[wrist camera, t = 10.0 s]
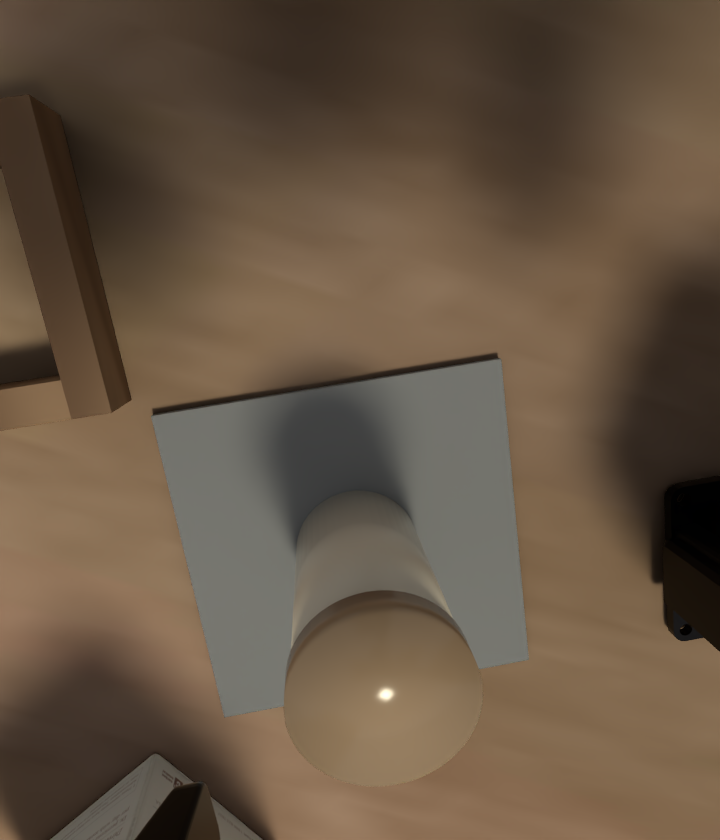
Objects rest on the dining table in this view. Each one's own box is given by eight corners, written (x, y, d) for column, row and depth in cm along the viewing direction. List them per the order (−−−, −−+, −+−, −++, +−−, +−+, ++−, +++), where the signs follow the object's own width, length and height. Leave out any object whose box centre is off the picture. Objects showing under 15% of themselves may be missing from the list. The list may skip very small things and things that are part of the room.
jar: (411, 477, 21) (472, 596, 13) (427, 592, 22) (492, 765, 14) (283, 500, 20) (265, 634, 13) (305, 614, 21) (303, 803, 14)
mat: (498, 357, 20) (501, 358, 20) (526, 655, 23) (528, 659, 23) (153, 414, 20) (151, 416, 19) (225, 711, 22) (224, 717, 22)
